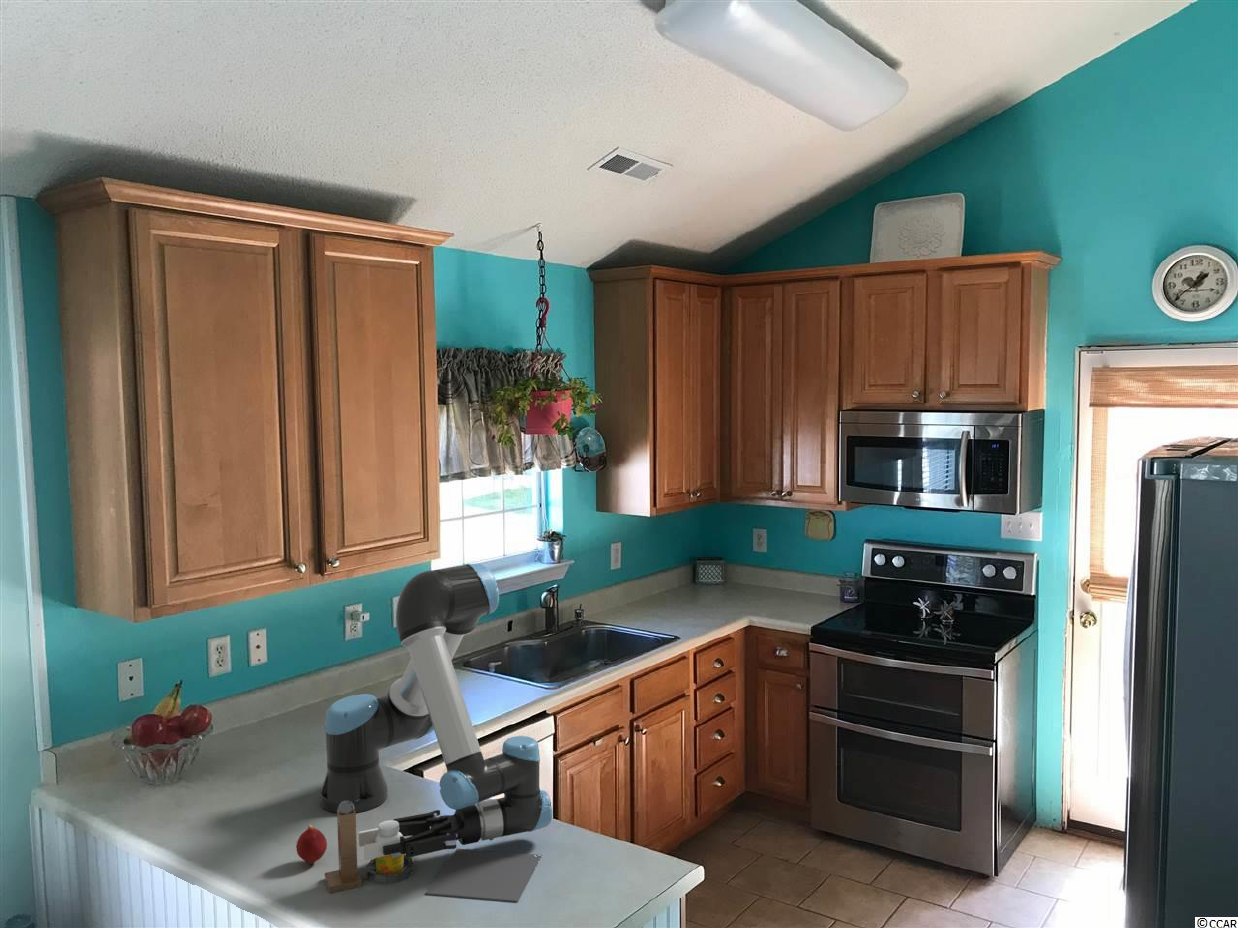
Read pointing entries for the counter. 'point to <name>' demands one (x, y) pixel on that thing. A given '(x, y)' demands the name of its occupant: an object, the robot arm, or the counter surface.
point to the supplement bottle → (395, 860)
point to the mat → (485, 875)
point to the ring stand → (348, 857)
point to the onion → (311, 845)
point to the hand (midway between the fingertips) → (362, 845)
